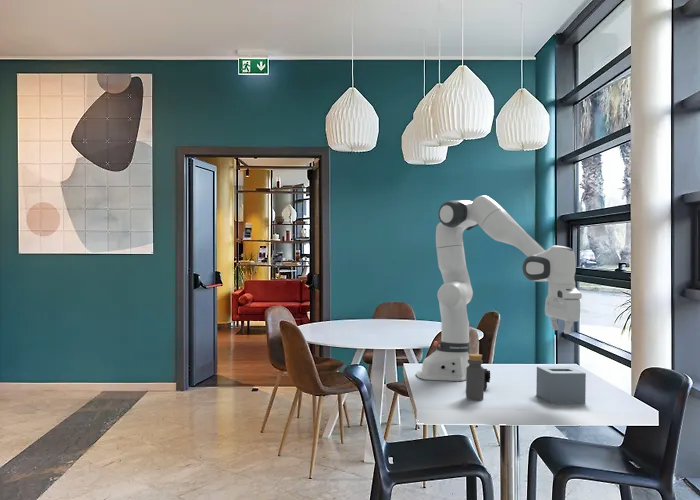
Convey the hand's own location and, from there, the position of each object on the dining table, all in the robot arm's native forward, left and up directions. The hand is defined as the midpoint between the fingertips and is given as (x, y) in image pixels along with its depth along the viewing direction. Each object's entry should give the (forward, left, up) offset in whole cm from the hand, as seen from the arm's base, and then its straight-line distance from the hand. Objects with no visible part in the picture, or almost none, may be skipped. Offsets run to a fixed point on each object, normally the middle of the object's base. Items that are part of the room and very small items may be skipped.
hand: (560, 331), depth 203 cm
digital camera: (-24, +14, -23) cm, 36 cm away
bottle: (-30, 0, -23) cm, 38 cm away
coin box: (0, -1, -23) cm, 23 cm away
